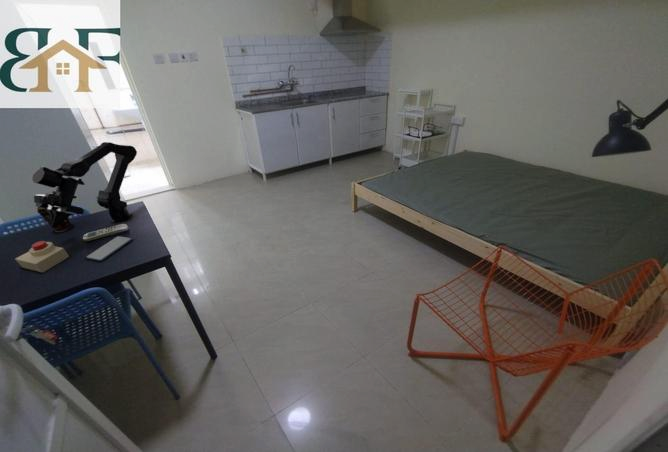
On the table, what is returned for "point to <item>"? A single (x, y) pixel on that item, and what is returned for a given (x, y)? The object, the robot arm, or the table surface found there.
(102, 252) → the smartphone
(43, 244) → the power button
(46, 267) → the power button base
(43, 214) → the coffee cup
